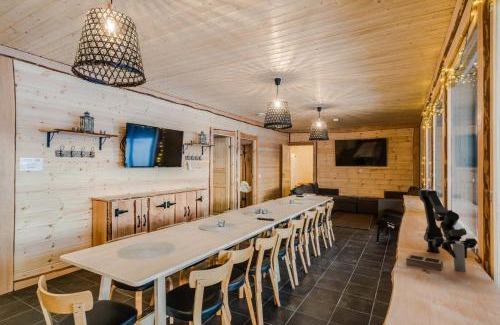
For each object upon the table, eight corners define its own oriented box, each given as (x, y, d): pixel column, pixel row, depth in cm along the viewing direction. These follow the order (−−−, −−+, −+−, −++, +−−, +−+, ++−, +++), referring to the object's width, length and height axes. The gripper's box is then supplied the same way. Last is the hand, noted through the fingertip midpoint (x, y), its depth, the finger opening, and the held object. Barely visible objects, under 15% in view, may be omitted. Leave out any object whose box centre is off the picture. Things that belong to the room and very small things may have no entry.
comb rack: (409, 260, 155) (409, 254, 155) (443, 266, 144) (442, 259, 144) (406, 264, 148) (406, 258, 148) (441, 270, 138) (440, 264, 138)
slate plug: (454, 267, 141) (453, 239, 142) (466, 269, 138) (464, 240, 139) (453, 270, 138) (452, 241, 138) (465, 272, 135) (463, 242, 135)
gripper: (433, 222, 145) (443, 249, 134) (474, 222, 140) (488, 250, 129) (428, 233, 152) (438, 259, 141) (467, 234, 148) (480, 261, 137)
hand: (460, 257), depth 137 cm, fingers closed on slate plug, 5 cm apart
